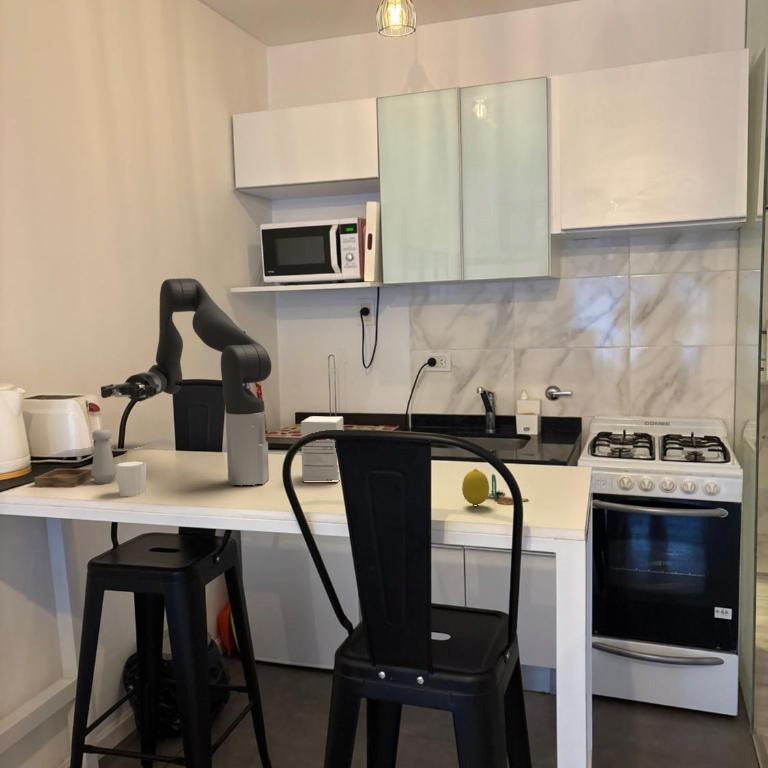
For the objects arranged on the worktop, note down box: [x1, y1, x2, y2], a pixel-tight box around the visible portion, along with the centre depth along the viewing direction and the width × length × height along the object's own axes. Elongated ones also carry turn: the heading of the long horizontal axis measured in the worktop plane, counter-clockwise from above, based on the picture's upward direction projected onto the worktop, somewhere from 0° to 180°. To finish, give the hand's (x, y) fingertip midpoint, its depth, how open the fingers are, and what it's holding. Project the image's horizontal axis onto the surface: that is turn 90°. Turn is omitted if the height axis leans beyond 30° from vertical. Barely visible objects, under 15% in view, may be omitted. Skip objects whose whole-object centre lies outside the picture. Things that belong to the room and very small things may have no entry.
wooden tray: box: [33, 468, 93, 488], centre depth 180 cm, size 10×10×2 cm
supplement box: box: [300, 415, 344, 482], centre depth 178 cm, size 9×9×15 cm
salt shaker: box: [91, 428, 117, 485], centre depth 179 cm, size 6×6×13 cm
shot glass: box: [115, 460, 147, 497], centre depth 167 cm, size 7×7×7 cm
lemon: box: [461, 468, 490, 506], centre depth 151 cm, size 6×6×8 cm
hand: (119, 394), depth 189 cm, fingers open, 8 cm apart
